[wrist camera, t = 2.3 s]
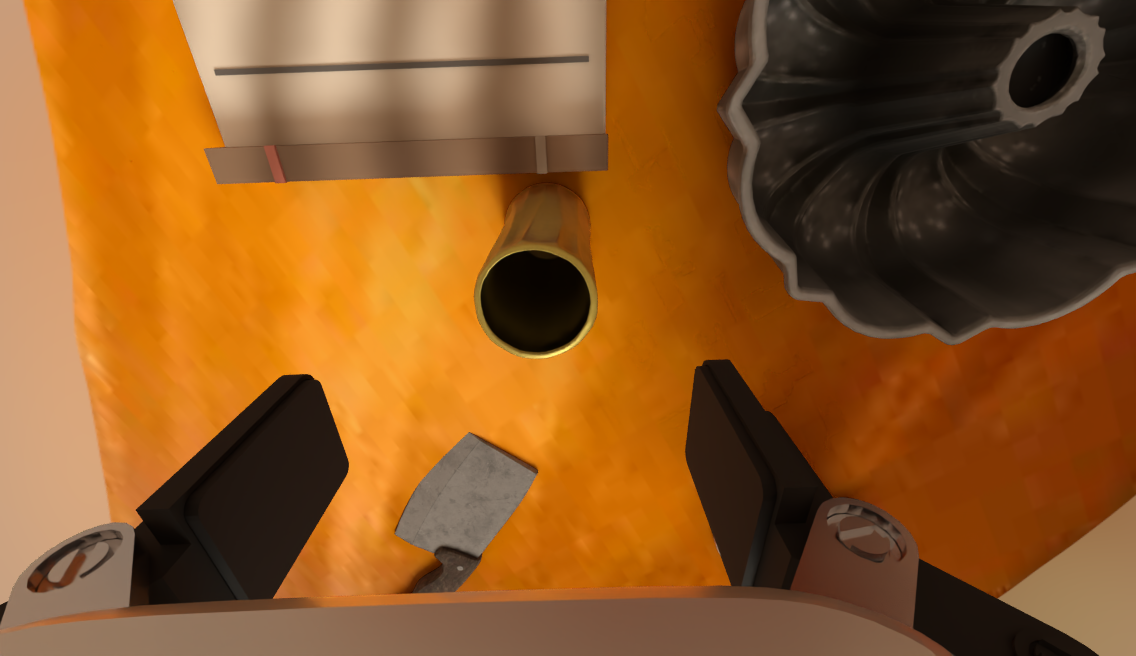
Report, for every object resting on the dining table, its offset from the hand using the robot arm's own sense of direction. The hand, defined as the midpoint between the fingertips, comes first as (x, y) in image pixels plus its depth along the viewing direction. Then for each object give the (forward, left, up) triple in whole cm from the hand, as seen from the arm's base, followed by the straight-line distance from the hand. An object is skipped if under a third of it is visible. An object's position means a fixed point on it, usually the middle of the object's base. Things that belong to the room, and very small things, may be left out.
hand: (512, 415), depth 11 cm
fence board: (+8, -9, -22) cm, 25 cm away
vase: (0, 0, -22) cm, 22 cm away
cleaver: (+13, +33, -22) cm, 42 cm away
